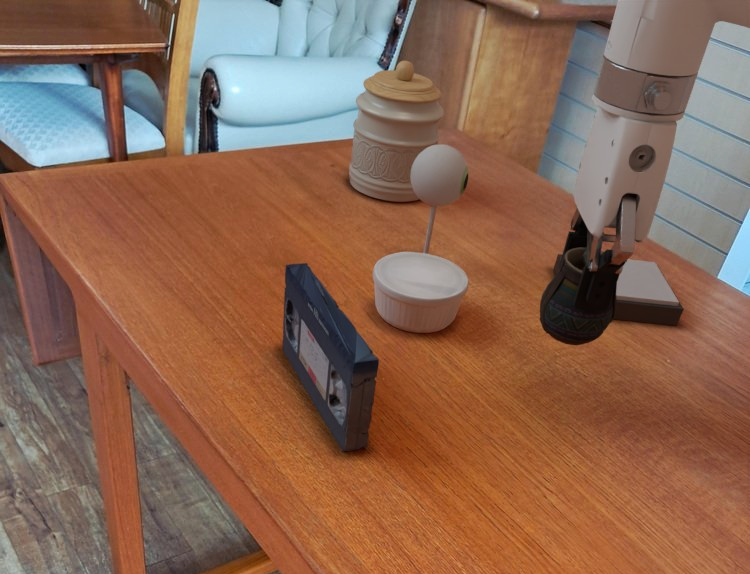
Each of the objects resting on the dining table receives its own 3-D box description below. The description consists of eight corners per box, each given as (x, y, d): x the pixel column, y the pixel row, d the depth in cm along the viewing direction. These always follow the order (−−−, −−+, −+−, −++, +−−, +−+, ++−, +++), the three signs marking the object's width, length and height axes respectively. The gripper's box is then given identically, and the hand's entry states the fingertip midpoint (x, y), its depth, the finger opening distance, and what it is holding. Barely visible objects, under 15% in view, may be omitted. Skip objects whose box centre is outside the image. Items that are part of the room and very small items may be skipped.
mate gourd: (546, 355, 76) (576, 262, 69) (522, 311, 81) (547, 220, 74) (614, 353, 78) (650, 261, 71) (586, 309, 83) (617, 220, 76)
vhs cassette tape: (280, 349, 85) (284, 262, 79) (306, 346, 86) (313, 261, 80) (338, 455, 73) (349, 364, 67) (367, 450, 74) (381, 360, 68)
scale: (651, 281, 109) (659, 260, 107) (676, 325, 100) (686, 304, 98) (553, 270, 108) (559, 249, 106) (570, 314, 99) (577, 292, 97)
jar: (330, 178, 122) (341, 51, 110) (390, 165, 130) (406, 45, 118) (387, 210, 116) (405, 79, 104) (447, 194, 123) (470, 70, 111)
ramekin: (391, 344, 89) (398, 302, 85) (353, 295, 96) (357, 255, 92) (477, 333, 93) (487, 292, 89) (434, 287, 100) (441, 247, 96)
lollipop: (442, 280, 102) (466, 162, 92) (390, 266, 103) (407, 147, 93) (456, 258, 107) (479, 144, 97) (406, 245, 108) (424, 131, 98)
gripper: (723, 128, 58) (642, 340, 70) (658, 63, 71) (599, 252, 83) (623, 118, 57) (560, 334, 69) (576, 54, 70) (529, 246, 82)
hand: (582, 288), depth 76 cm, fingers closed on mate gourd, 6 cm apart
